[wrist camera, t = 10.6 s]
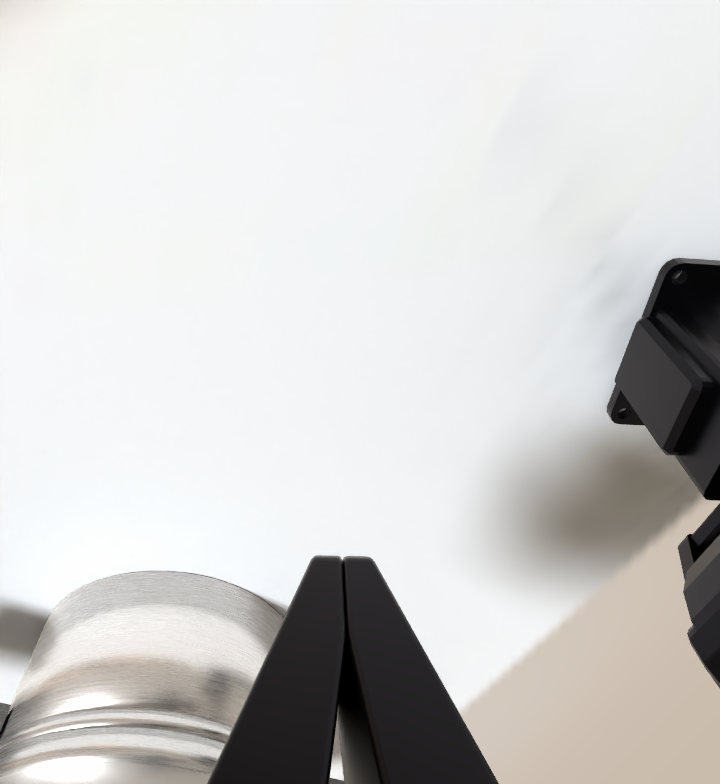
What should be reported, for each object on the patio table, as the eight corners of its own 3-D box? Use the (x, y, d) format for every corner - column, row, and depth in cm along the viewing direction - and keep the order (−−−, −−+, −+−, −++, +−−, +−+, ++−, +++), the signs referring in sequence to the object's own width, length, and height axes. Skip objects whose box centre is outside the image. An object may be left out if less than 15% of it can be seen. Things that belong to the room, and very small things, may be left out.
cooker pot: (390, 630, 31) (404, 781, 26) (278, 746, 37) (270, 889, 32) (-94, 478, 24) (-224, 638, 18) (-134, 651, 30) (-242, 812, 25)
